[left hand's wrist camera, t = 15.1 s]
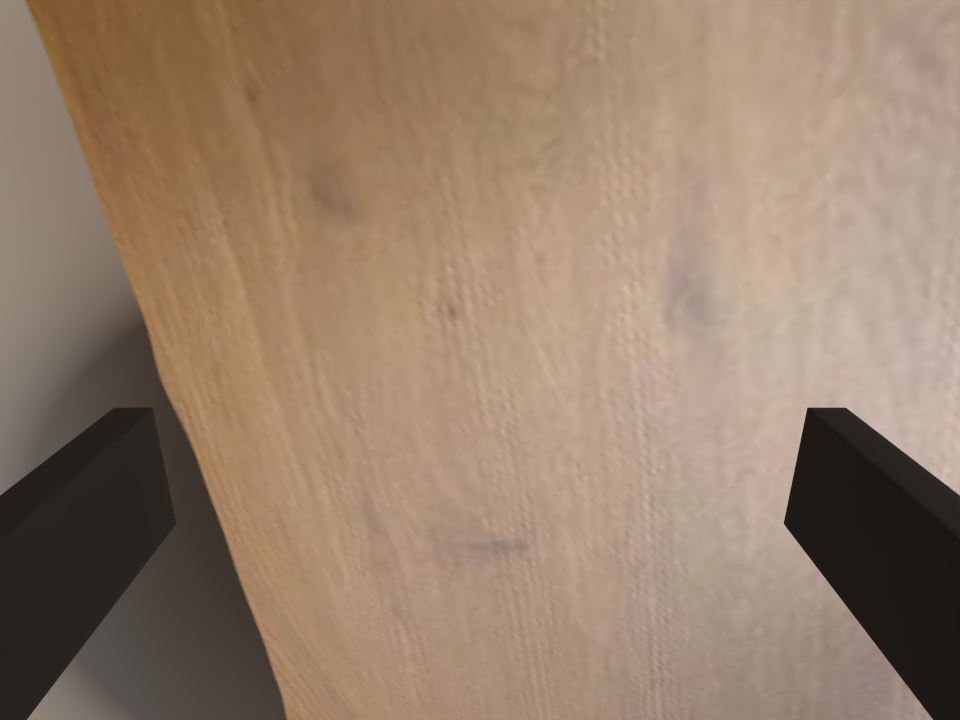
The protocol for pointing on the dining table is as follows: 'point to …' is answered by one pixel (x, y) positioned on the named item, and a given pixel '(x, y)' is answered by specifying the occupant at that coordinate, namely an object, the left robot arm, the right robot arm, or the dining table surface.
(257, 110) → the dining table surface
